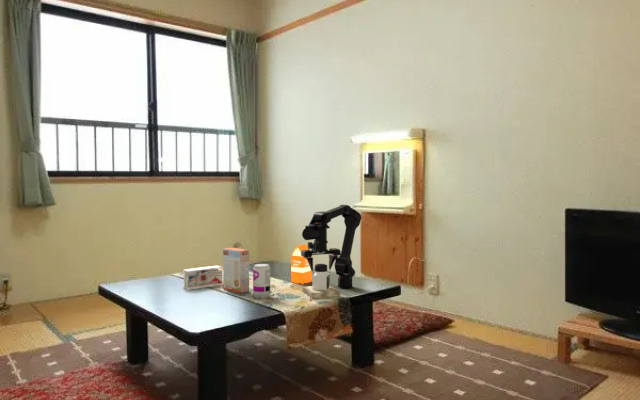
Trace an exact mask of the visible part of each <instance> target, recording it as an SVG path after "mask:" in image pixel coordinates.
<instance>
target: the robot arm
mask: <svg viewBox="0 0 640 400" xmlns="http://www.w3.org/2000/svg"><path fill="white" fill-rule="evenodd" d="M339 216H341V217H343V218H344V219H343V220H344V221H343V222H344V225H345V226H344V227H345V231H344V232H345V233H344V237H343V242H342V246H341V249H339V248H337V247H333V248H332V247H331V248H329V249H328V247H327V246H328V244H329V243H328V229H330V226H329V225H328V224H329V223H330V222H332V219H334V218H337V217H339ZM361 222H362V215H361V213H360V212H359V211H358V210H356V209H354V208H352V207H351V206H350V205H348V204H339V206H336V207H333V208H331V209H328V210H326V211H325V210H323V211H316V212H314V213H313V215H312V217H311V220H310V221H309V223H308V225H305V228H304V229H303V230H302V233H301V236H302V238H303V239H304V241H307V247H308V249H309V250H302V251H301V256H303V257H304V258H306V259H307V261H308V263H309V266H310V269H311V271H312V272H313V271H314V257H313V256H317V255H319V256H320V255H328V270H329V271H331V270H332V268H333V265H334V269H335V274H336V276H338V278H337V287H339V288H340V289H354V285H353V277H355V276H356V270H355V269H354V267H353V260H352V259H351V254H352V249H353V243H354V238H355V234H356V230H357V228H358V227H359V226H360V224H361ZM312 240H313V242H312Z"/></svg>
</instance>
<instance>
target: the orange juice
mask: <svg viewBox="0 0 640 400" xmlns="http://www.w3.org/2000/svg"><path fill="white" fill-rule="evenodd" d="M302 250H310V249H308V244H306V243H305V244H300V245H297V246H296V247H295V249H294V251H293V252H292V254H291V264H290V265H291V268H290V269H291V270H290V271H291V274H290V275H291V283H292V282H294V283H293V284H299V283H301V284H300V285H304V283H305V284H308V283H311V282H312V276H313V271H311V269H310V266H309V263H308V261H307V259H306V258H304V257H303V256H301V251H302Z"/></svg>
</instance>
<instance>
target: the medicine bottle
mask: <svg viewBox="0 0 640 400" xmlns="http://www.w3.org/2000/svg"><path fill="white" fill-rule="evenodd" d="M330 278H331V277H330V272H328V264H326V263H316V264H314V274H312V281H311V282H312V284H311V286H312V289H313V290H324V291H327V290H328V288H329V287H330V286H331V284H330V281H331V280H330Z"/></svg>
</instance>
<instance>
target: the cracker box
mask: <svg viewBox="0 0 640 400" xmlns="http://www.w3.org/2000/svg"><path fill="white" fill-rule="evenodd" d="M222 250H223V251H222V256H223V257H222V258H223V262H222V263H223V265H222V266H223V267H222V281H223V283H222V284H223V285H222V286H223V288H222V289H223V290H226V291H230V292H234V293H237V294H244V293H249V292H250V250H249V249H243V248H239V247H238V248H237V247H231V246H230V247H224V248H223V249H222Z"/></svg>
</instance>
